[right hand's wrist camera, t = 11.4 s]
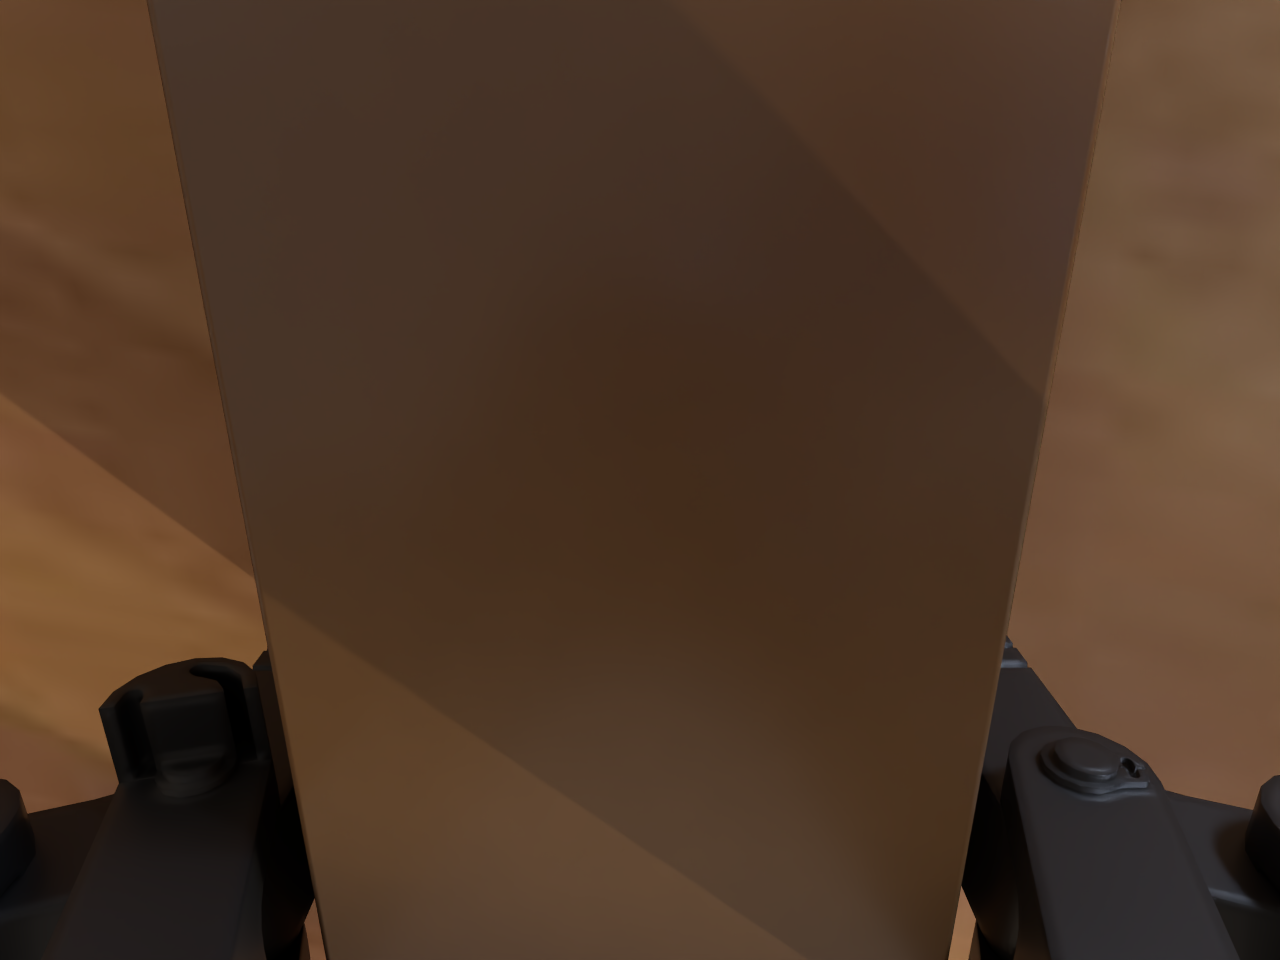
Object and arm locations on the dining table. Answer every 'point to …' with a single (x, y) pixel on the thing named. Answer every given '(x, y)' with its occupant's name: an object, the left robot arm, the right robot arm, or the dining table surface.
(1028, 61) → the post
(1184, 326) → the dining table surface
